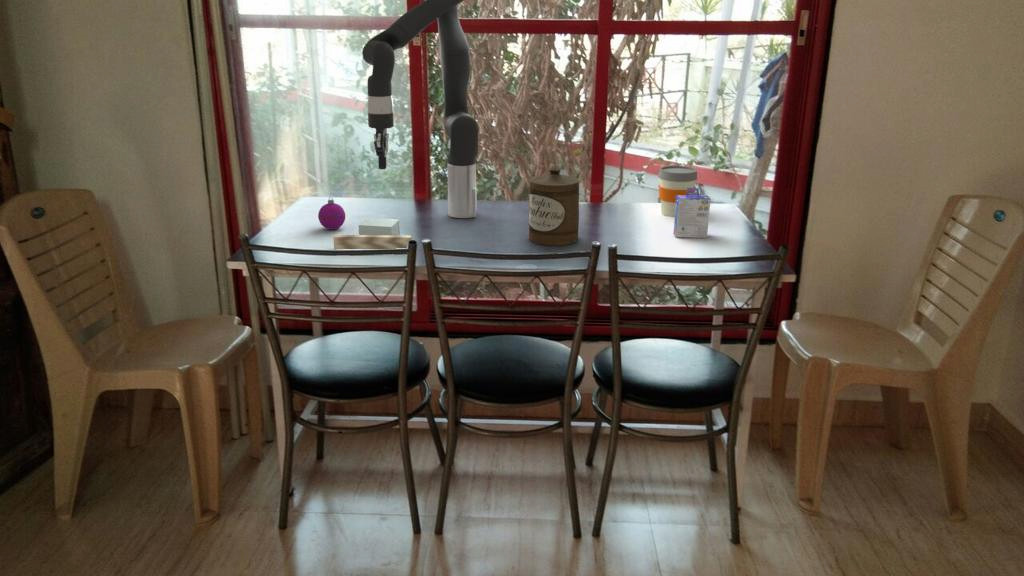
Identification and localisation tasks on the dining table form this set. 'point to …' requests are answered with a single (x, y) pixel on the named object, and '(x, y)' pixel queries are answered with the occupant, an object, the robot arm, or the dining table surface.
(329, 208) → the christmas ornament
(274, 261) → the dining table surface
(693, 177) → the reusable coffee cup
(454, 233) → the dining table surface
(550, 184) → the wooden container
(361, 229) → the block
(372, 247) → the board
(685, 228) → the ink cartridge box
